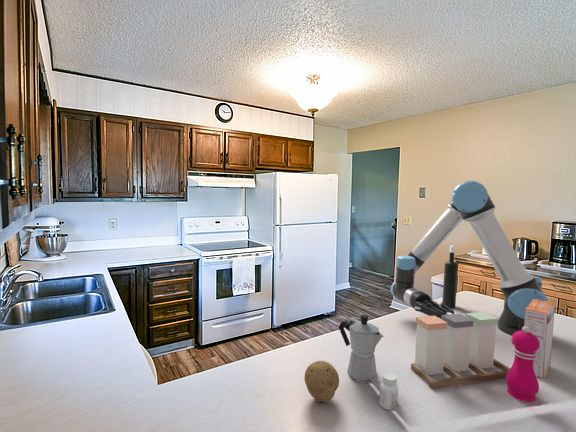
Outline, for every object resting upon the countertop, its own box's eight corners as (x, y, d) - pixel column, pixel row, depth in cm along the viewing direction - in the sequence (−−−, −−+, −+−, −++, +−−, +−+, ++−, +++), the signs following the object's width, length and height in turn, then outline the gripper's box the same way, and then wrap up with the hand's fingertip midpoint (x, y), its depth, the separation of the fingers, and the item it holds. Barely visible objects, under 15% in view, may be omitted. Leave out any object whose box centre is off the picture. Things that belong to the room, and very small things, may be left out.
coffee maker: (388, 377, 96) (391, 317, 95) (374, 390, 90) (377, 326, 89) (345, 358, 106) (347, 304, 105) (329, 369, 100) (331, 311, 99)
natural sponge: (317, 384, 92) (318, 350, 91) (345, 397, 86) (346, 361, 85) (297, 399, 85) (298, 362, 84) (326, 415, 79) (327, 375, 78)
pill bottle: (397, 402, 85) (398, 373, 84) (397, 412, 81) (398, 382, 80) (379, 398, 86) (381, 370, 86) (378, 408, 82) (380, 378, 82)
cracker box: (528, 359, 109) (533, 297, 108) (551, 366, 105) (556, 302, 104) (519, 374, 100) (524, 307, 98) (543, 383, 95) (549, 313, 94)
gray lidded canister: (438, 363, 103) (441, 315, 101) (456, 361, 104) (459, 313, 103) (451, 373, 97) (454, 322, 96) (470, 370, 99) (473, 320, 98)
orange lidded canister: (413, 366, 100) (415, 317, 99) (431, 364, 102) (434, 315, 101) (424, 376, 95) (427, 324, 94) (444, 373, 97) (447, 322, 95)
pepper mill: (526, 392, 91) (532, 321, 89) (544, 409, 84) (550, 333, 82) (499, 389, 91) (504, 320, 90) (514, 406, 84) (520, 331, 83)
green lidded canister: (462, 360, 105) (465, 313, 103) (480, 358, 106) (483, 312, 105) (476, 369, 99) (480, 320, 98) (494, 367, 101) (498, 318, 100)
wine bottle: (453, 304, 162) (457, 244, 160) (456, 308, 156) (460, 246, 154) (441, 303, 163) (444, 244, 161) (443, 307, 158) (447, 245, 156)
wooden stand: (401, 369, 101) (401, 359, 101) (484, 359, 108) (485, 350, 108) (428, 394, 88) (429, 384, 88) (521, 382, 96) (522, 372, 95)
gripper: (431, 308, 134) (476, 333, 111) (402, 309, 131) (443, 335, 108) (432, 290, 133) (478, 311, 111) (404, 291, 130) (445, 313, 108)
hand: (461, 323), depth 109 cm, fingers closed
